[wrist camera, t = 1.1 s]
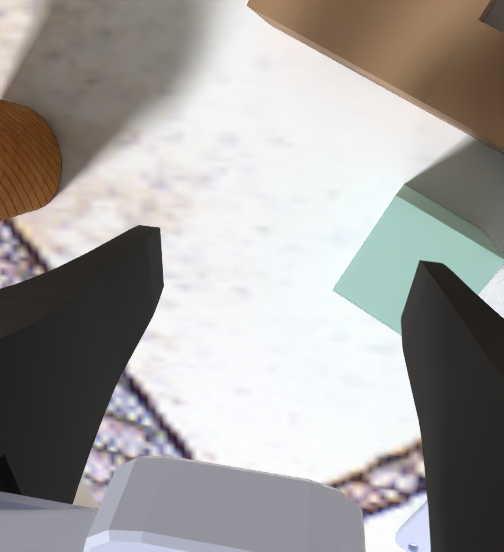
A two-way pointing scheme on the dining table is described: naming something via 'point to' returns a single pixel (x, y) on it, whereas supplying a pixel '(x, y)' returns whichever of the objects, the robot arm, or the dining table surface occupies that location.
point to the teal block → (414, 255)
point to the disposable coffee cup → (26, 161)
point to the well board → (410, 52)
